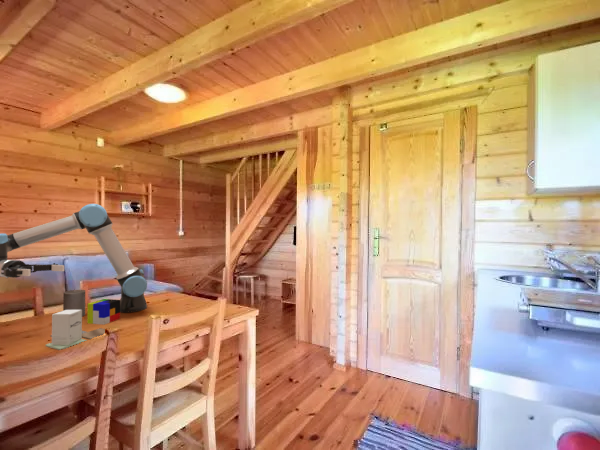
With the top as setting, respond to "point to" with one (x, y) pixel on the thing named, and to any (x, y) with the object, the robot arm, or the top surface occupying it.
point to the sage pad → (64, 345)
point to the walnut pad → (93, 333)
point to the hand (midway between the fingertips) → (47, 270)
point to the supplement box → (66, 327)
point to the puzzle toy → (103, 311)
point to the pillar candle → (74, 300)
